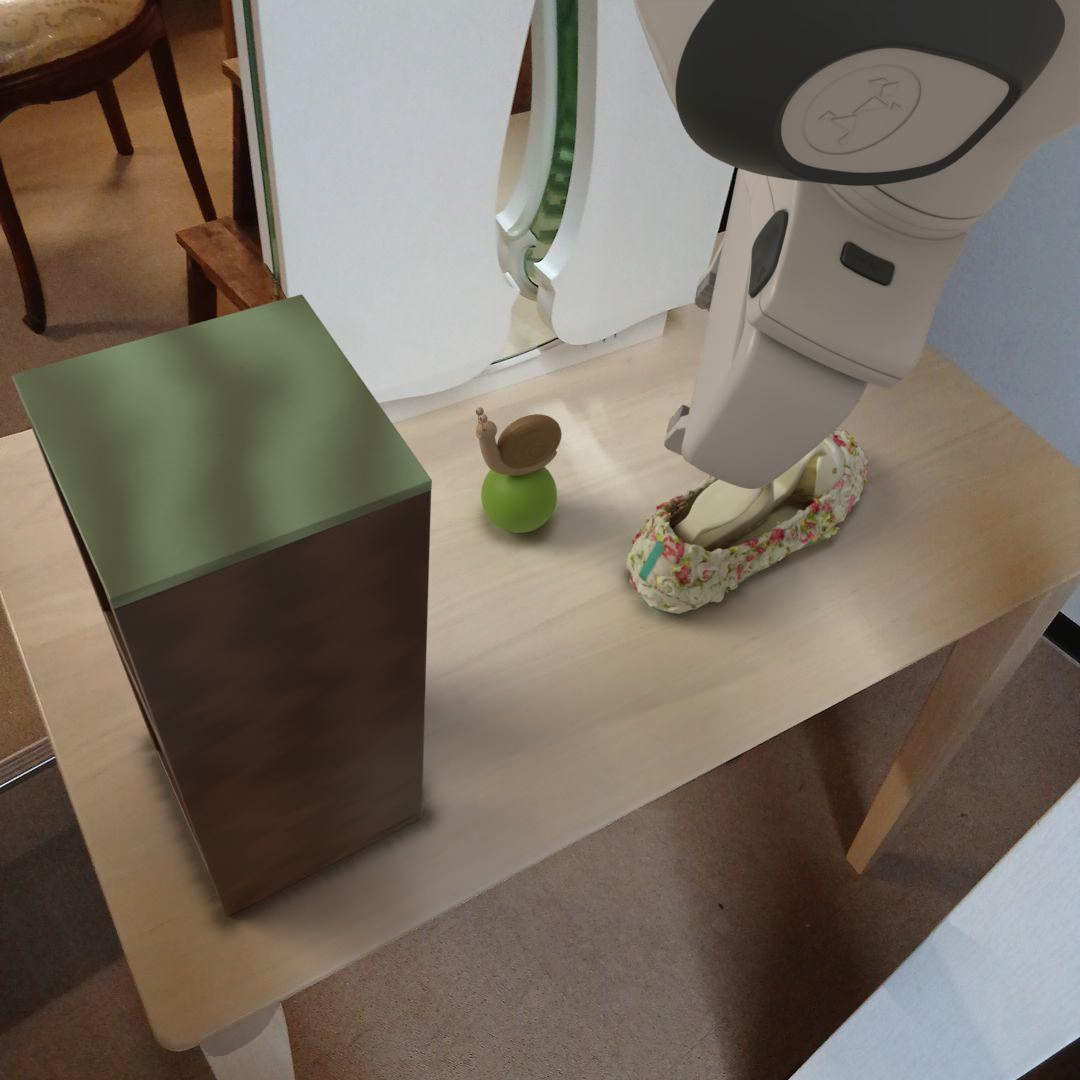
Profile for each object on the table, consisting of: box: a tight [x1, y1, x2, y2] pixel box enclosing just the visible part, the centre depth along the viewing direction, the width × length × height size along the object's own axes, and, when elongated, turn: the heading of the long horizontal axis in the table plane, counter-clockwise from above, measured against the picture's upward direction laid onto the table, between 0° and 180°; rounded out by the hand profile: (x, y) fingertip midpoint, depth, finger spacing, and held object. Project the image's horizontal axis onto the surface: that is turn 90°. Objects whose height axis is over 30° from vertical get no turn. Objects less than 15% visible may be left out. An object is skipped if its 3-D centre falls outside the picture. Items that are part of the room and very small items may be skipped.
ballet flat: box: [625, 429, 869, 615], centre depth 77 cm, size 9×25×8 cm, turn 135°
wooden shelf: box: [11, 294, 433, 917], centre depth 52 cm, size 12×12×30 cm
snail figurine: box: [475, 406, 562, 534], centre depth 74 cm, size 5×6×12 cm
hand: (694, 368), depth 54 cm, fingers open, 8 cm apart
